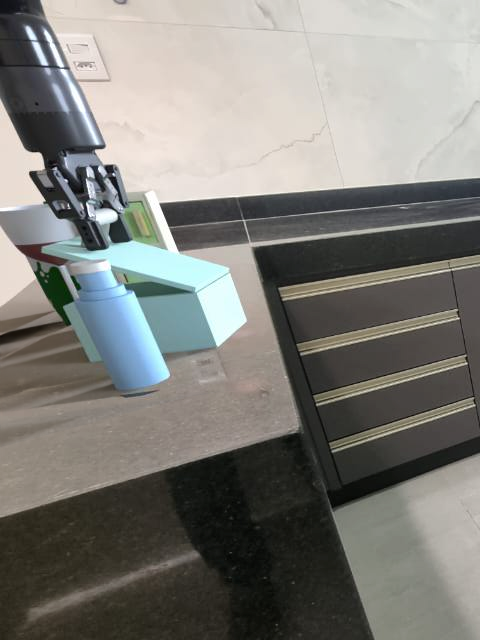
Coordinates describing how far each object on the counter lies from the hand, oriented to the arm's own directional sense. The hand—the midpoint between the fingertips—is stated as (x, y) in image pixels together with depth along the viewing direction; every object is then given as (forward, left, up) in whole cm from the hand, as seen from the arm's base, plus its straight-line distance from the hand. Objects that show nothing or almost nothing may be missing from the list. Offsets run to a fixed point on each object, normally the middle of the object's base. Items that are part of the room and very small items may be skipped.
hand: (111, 245), depth 73 cm
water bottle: (+6, -16, -15) cm, 23 cm away
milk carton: (-18, +22, -16) cm, 33 cm away
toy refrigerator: (-4, +15, -16) cm, 22 cm away
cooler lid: (+3, 0, -3) cm, 4 cm away
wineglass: (-14, +13, -16) cm, 25 cm away
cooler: (+3, 0, -15) cm, 16 cm away
